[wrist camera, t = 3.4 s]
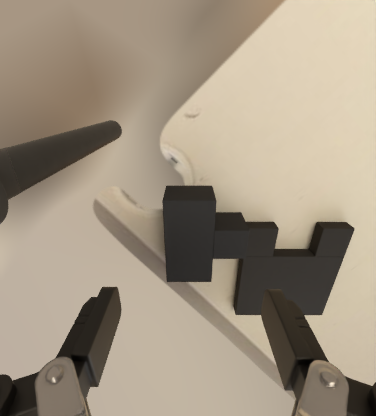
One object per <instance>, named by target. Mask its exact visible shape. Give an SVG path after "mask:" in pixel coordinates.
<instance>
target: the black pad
mask: <svg viewBox="0 0 376 416" xmlns="http://www.w3.org/2000/svg"><path fill="white" fill-rule="evenodd" d="M246 224H247V226H248V228H249V231H250V232H249V239H248V246H247V253H246V259H240V261H239V269H238V277H237V285H236V292H235V300H234V310H235V314H236V315H261V307H262V303H263V298H264V293H265V290H266V289H281V290H282V292H283V294H284V296H285V298H286V300H293V301H294V302H295V303H296V304H297V305H298V306H299V307H300V309H301V311H302V312H303V314H304V315H322V313H323V311H324V308H325V305H326V303H327V300H328V297H329V295H330V292H331V290H332V287H333V284H334V282H335V279H336V276H337V274H338V271H339V269H340V266H341V263H342V261H343V258H344V255H345V253H346V250H347V248H348V245H349V242H350V240H351V237H352V234H353V232H354V228H353V227H352V226H351V225H349V224H348V223H347V222H317V224H316V227H315V230H314V234H313V237H312V241H311V244H310V248H309V249H274V248H275V243H276V239H277V234H278V229H279V228H278V227H277V226H276V224H275V223H274V222H246Z"/></svg>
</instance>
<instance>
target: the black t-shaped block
mask: <svg viewBox="0 0 376 416" xmlns="http://www.w3.org/2000/svg"><path fill="white" fill-rule="evenodd" d="M163 218H164V237H165V256H166V275H167V282H211V278H212V262H213V259H246V253H247V246H248V239H249V232H250V231H249V228H248V226H247V224H246V222H245V220H244V218H243V216H242V213H216V198H215V194H214V191H213V187H212V186H166V190H165V194H164V198H163Z"/></svg>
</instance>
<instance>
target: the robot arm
mask: <svg viewBox="0 0 376 416" xmlns="http://www.w3.org/2000/svg"><path fill="white" fill-rule="evenodd" d="M120 316H121V303H120V297H119V292H118V288H117V287H102V289H101V290H100V292H99V295H98V297H91V298H90V299H89V300H88V301H87V302H86V303H85V304H84V305H83V307H82V309H81V311H80V313H79V316H78V317H77V319H76V320H75V324H74V325H73V326H72V328H71V330H70V332H69V334H68V336H67V338H66V340H65V342H64V344H63V345H62V347H61V349H60V351H59V353H58V355H57V356H56V358H55V359H54V360H52V361H50V362H49V363H47V364H46V365H45V366H44V367H43V368H42V369H41V370H40V371H39V372H37V373H35V374H32V375H29V376H26V377H22V378H19V379H16V380H13V381H12V379H11V378H10V376H8V375H0V416H91V413H90V409H89V406H88V402H87V399H86V397H87V394H88V392H89V389H90V387H98V385H99V382H100V379H101V376H102V373H103V370H104V367H105V363H106V360H107V357H108V354H109V351H110V348H111V345H112V342H113V339H114V336H115V332H116V329H117V326H118V323H119V319H120ZM261 316H262V321H263V324H264V327H265V330H266V333H267V337H268V340H269V343H270V346H271V349H272V352H273V355H274V358H275V361H276V364H277V367H278V370H279V373H280V377H281V380H282V383H283V386H284V389H285V390H293V391H294V394H295V397H296V401H295V404H294V407H293V411H292V415H291V416H376V382H375V384H374V385H373V386H370V385H367V384H364V383H361V382H358V381H356V380H353V379H350V378H348V377H346V376H344V375H343V374H342V372H341V371H340V370H339V369H338V368H337V367H335V366H334V365H332V364H331V363H329V361H328V360H327V358H326V356H325V354H324V352H323V350H322V349H321V347H320V345H319V343H318V341H317V339H316V337H315V335H314V333H313V331H312V330H311V328H310V327H309V324H308V322H307V320H306V319H305V316H304V314H303V312H302V311H301V309H300V307H299V306H298V305H297V304H296V303H295V302H294V301H293V300H286V298H285V296H284V294H283V292H282V290H281V289H266V290H265V293H264V298H263V303H262V307H261Z"/></svg>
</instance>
